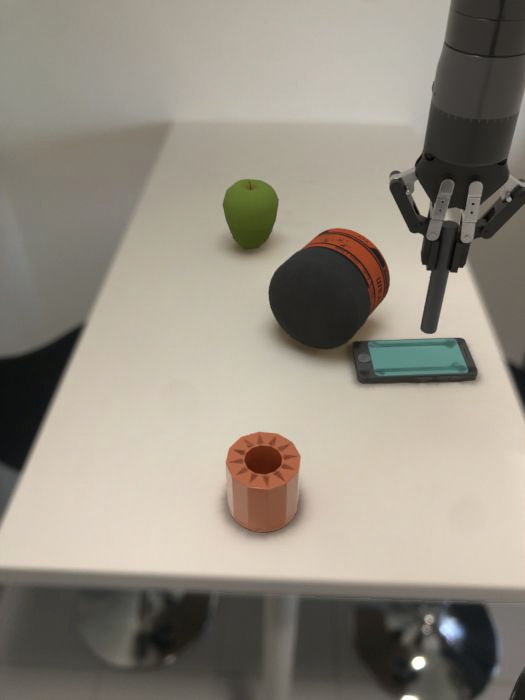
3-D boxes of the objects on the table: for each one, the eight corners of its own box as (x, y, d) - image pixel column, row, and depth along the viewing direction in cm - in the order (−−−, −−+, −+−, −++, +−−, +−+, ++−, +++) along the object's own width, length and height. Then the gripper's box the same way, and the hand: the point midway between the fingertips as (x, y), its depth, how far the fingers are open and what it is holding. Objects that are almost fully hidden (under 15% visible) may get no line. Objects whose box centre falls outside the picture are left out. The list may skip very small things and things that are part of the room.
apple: (234, 265, 105) (232, 198, 97) (217, 239, 111) (213, 173, 103) (286, 254, 107) (288, 187, 100) (266, 228, 113) (266, 164, 106)
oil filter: (385, 324, 94) (397, 243, 85) (343, 374, 86) (352, 290, 78) (304, 293, 99) (308, 215, 91) (258, 338, 91) (257, 256, 83)
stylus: (436, 337, 74) (459, 229, 66) (419, 336, 75) (441, 228, 66) (435, 327, 76) (458, 220, 67) (419, 326, 76) (440, 219, 67)
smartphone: (351, 339, 89) (464, 336, 90) (350, 346, 90) (462, 343, 91) (359, 377, 84) (480, 373, 84) (359, 385, 85) (478, 381, 85)
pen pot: (293, 536, 68) (296, 492, 63) (222, 527, 68) (220, 484, 64) (300, 479, 73) (303, 435, 69) (235, 472, 74) (233, 428, 69)
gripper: (395, 111, 56) (373, 282, 68) (567, 120, 55) (515, 294, 66) (395, 80, 62) (374, 243, 73) (550, 87, 60) (505, 253, 72)
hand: (441, 267), depth 70 cm, fingers closed on stylus, 2 cm apart
